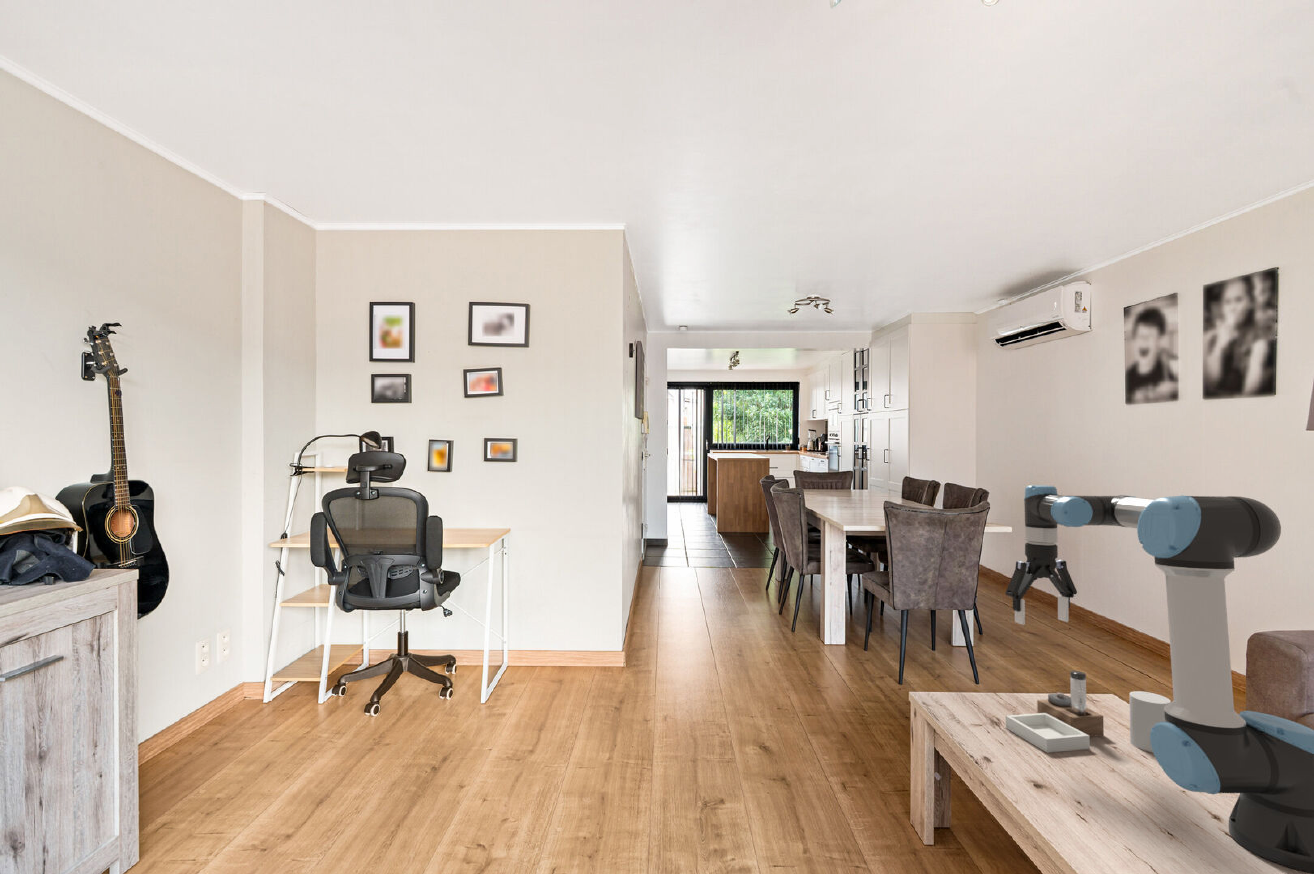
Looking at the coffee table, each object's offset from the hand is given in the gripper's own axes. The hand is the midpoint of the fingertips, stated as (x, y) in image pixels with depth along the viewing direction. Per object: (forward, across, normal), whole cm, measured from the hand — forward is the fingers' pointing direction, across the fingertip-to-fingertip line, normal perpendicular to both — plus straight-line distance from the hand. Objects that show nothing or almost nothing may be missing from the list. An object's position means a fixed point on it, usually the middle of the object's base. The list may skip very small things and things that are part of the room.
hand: (1041, 622), depth 169 cm
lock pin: (+28, -6, +5) cm, 29 cm away
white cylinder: (+28, -17, +15) cm, 36 cm away
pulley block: (+28, -6, +2) cm, 28 cm away
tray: (+28, +5, +7) cm, 29 cm away
